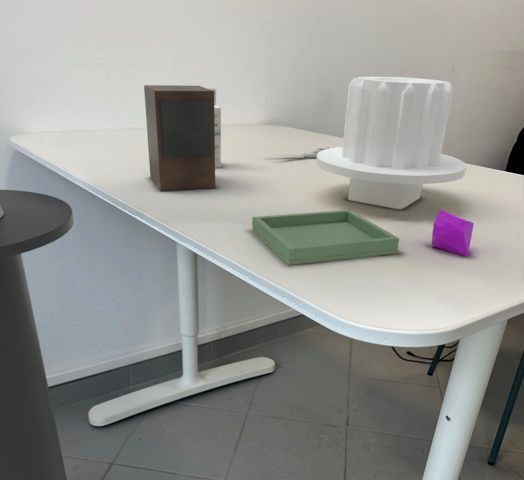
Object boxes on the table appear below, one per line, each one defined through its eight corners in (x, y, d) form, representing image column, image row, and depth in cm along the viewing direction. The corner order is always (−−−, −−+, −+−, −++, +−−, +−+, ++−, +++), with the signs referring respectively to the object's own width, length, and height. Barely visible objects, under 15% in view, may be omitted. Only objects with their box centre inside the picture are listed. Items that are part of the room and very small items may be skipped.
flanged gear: (431, 230, 80) (459, 90, 71) (287, 201, 92) (294, 77, 82) (473, 196, 99) (500, 82, 89) (349, 176, 110) (360, 72, 100)
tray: (288, 265, 66) (289, 249, 65) (252, 231, 77) (252, 216, 76) (397, 253, 71) (399, 238, 70) (348, 223, 82) (349, 209, 81)
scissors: (355, 154, 126) (284, 160, 116) (355, 158, 126) (284, 164, 117) (328, 147, 133) (259, 151, 124) (328, 150, 134) (259, 155, 125)
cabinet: (161, 191, 94) (154, 90, 86) (150, 178, 103) (143, 85, 94) (215, 188, 97) (214, 91, 89) (201, 175, 106) (199, 85, 98)
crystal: (427, 251, 72) (434, 217, 70) (432, 239, 77) (439, 207, 74) (467, 257, 71) (476, 223, 68) (470, 245, 75) (478, 212, 73)
